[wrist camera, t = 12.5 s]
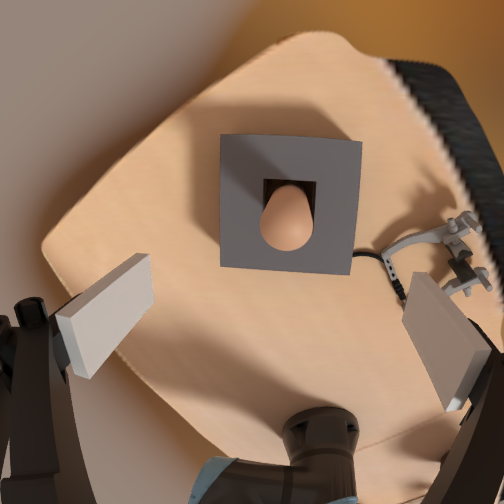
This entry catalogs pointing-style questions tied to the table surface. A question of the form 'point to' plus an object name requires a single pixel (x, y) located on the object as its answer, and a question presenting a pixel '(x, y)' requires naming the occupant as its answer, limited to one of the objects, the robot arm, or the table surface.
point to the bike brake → (458, 249)
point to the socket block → (289, 168)
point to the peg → (287, 218)
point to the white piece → (416, 501)
